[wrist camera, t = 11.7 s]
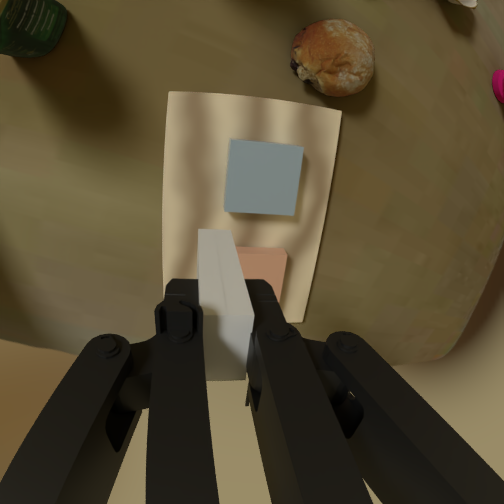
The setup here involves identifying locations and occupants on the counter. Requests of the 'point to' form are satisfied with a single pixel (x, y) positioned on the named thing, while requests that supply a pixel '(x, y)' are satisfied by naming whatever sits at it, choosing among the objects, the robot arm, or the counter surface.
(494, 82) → the pepper mill
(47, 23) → the coffee jar
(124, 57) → the counter surface
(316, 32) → the bread roll
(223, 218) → the board
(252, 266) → the pink square tile
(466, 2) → the chinaware
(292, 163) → the tile blue
